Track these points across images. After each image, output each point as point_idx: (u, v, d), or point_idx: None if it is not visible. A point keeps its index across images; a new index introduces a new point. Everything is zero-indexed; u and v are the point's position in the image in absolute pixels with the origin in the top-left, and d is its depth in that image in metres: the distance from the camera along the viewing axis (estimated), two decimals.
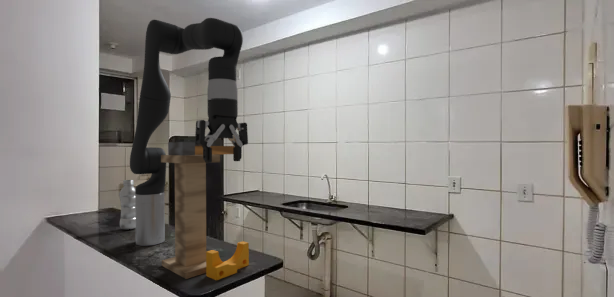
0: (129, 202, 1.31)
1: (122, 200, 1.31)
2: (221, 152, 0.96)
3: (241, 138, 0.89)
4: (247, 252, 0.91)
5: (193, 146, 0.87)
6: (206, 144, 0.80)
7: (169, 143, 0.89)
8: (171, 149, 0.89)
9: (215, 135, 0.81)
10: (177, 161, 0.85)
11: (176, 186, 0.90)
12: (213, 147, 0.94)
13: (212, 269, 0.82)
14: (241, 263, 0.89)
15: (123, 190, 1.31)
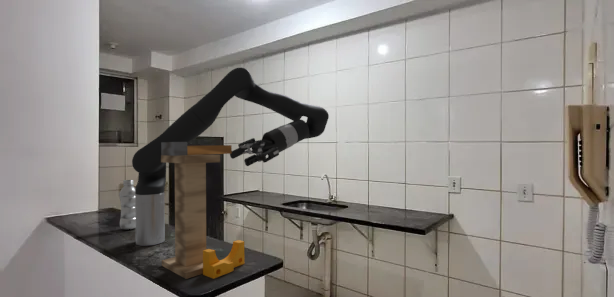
0: (129, 202, 1.31)
1: (122, 200, 1.31)
2: (215, 152, 0.95)
3: None
4: (243, 251, 0.92)
5: (185, 146, 0.85)
6: (260, 160, 0.96)
7: (162, 143, 0.88)
8: (164, 149, 0.87)
9: None
10: (177, 161, 0.85)
11: (176, 186, 0.90)
12: (207, 147, 0.93)
13: (209, 268, 0.83)
14: (237, 261, 0.91)
15: (123, 190, 1.31)
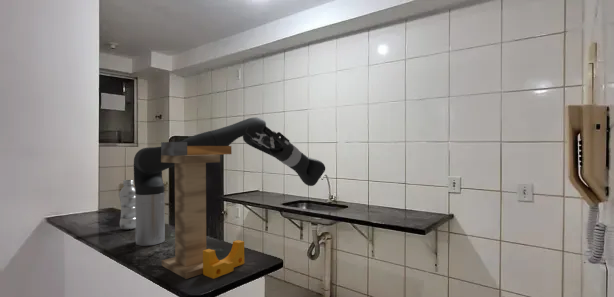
0: (129, 202, 1.31)
1: (122, 200, 1.31)
2: (215, 152, 0.95)
3: (256, 137, 1.15)
4: (243, 250, 0.92)
5: (185, 146, 0.85)
6: (273, 137, 1.06)
7: (162, 143, 0.88)
8: (164, 149, 0.87)
9: (272, 143, 1.08)
10: (177, 161, 0.85)
11: (176, 186, 0.90)
12: (207, 147, 0.93)
13: (209, 268, 0.83)
14: (237, 261, 0.91)
15: (123, 190, 1.31)
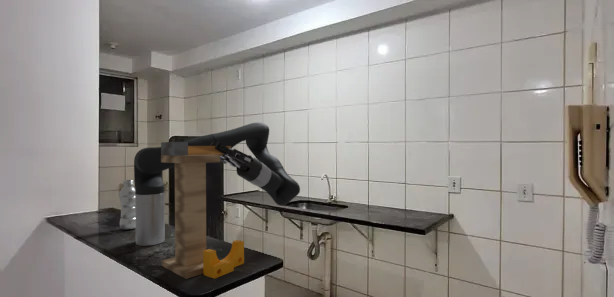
0: (129, 202, 1.31)
1: (122, 200, 1.31)
2: (215, 152, 0.95)
3: None
4: (242, 250, 0.93)
5: (186, 146, 0.85)
6: (228, 155, 0.97)
7: (162, 143, 0.88)
8: (164, 149, 0.87)
9: (232, 161, 0.98)
10: (177, 161, 0.85)
11: (176, 186, 0.90)
12: (207, 147, 0.93)
13: (210, 268, 0.83)
14: (237, 261, 0.91)
15: (123, 190, 1.31)
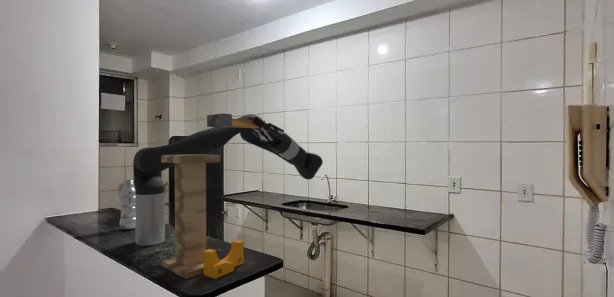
0: (129, 202, 1.31)
1: (122, 200, 1.31)
2: (252, 125, 1.06)
3: None
4: (242, 250, 0.93)
5: (230, 118, 0.97)
6: (263, 128, 1.08)
7: (208, 116, 0.99)
8: (210, 121, 0.99)
9: (266, 134, 1.10)
10: (177, 161, 0.85)
11: (176, 186, 0.90)
12: (246, 120, 1.04)
13: (210, 268, 0.83)
14: (237, 261, 0.91)
15: (123, 190, 1.31)
